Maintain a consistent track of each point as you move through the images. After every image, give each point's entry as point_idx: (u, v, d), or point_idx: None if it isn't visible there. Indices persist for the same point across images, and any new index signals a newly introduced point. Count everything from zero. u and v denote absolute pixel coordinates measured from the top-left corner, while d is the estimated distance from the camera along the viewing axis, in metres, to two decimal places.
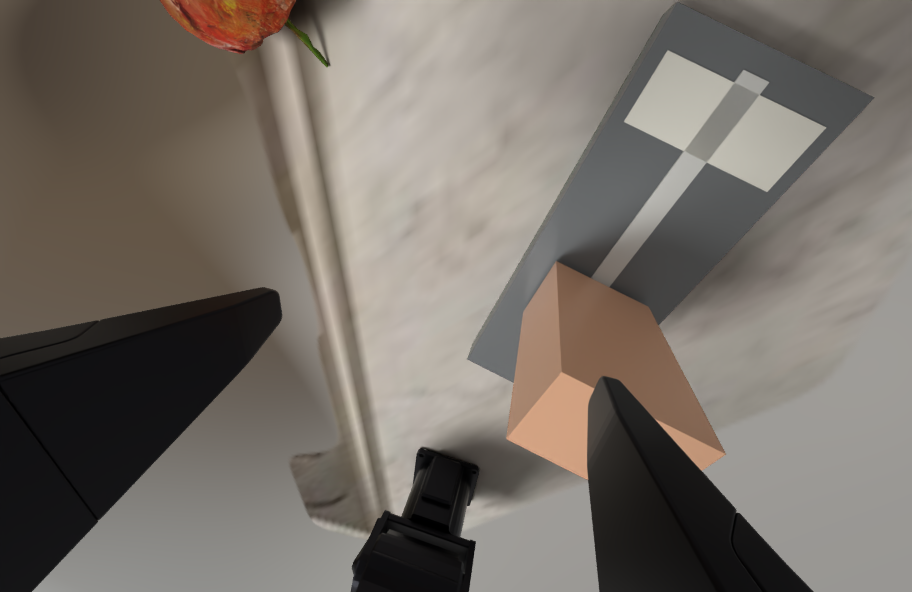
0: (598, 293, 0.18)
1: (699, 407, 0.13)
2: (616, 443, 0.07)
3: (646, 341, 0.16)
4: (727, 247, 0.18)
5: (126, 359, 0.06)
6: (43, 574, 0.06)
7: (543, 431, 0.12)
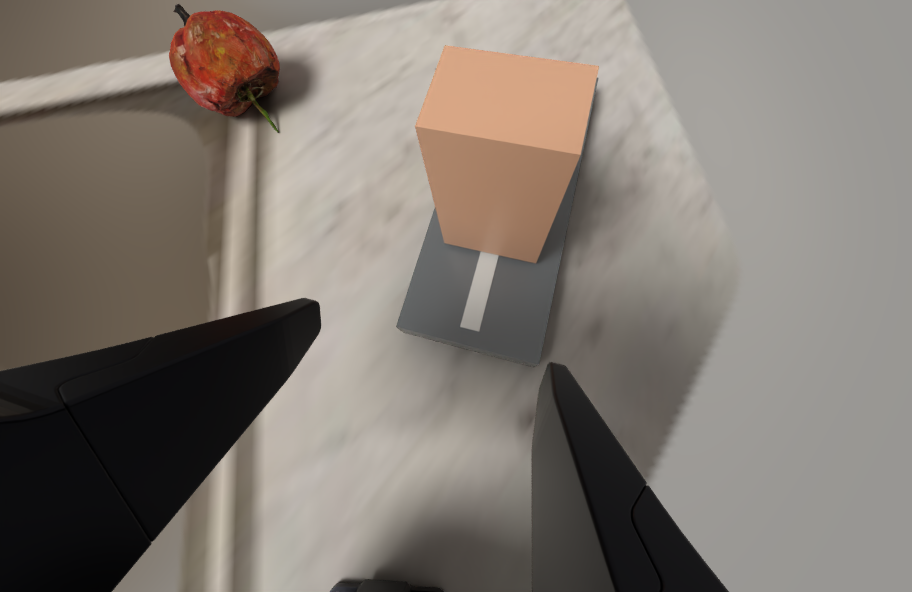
0: None
1: None
2: (551, 424, 0.07)
3: None
4: None
5: (183, 376, 0.06)
6: None
7: (447, 103, 0.13)
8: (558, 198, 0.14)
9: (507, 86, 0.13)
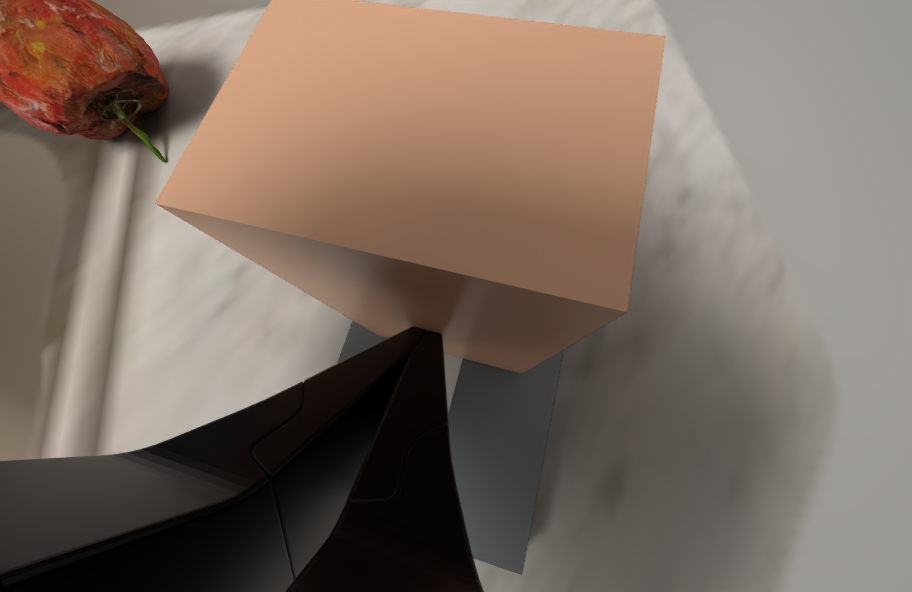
0: None
1: None
2: None
3: None
4: None
5: (339, 426, 0.06)
6: None
7: (254, 137, 0.05)
8: (556, 345, 0.06)
9: (416, 89, 0.05)
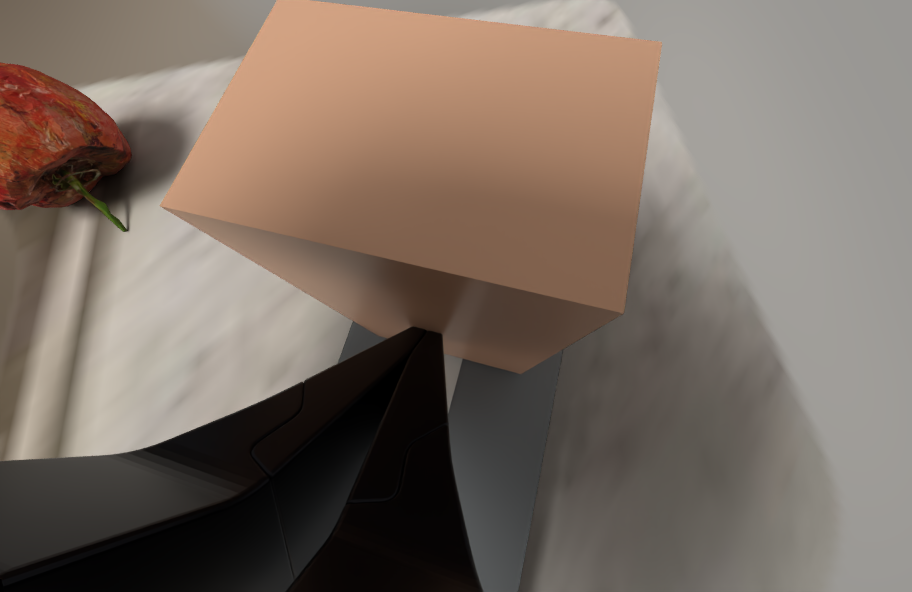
0: None
1: None
2: None
3: None
4: None
5: (339, 426, 0.06)
6: None
7: (258, 141, 0.05)
8: (555, 346, 0.06)
9: (416, 94, 0.05)
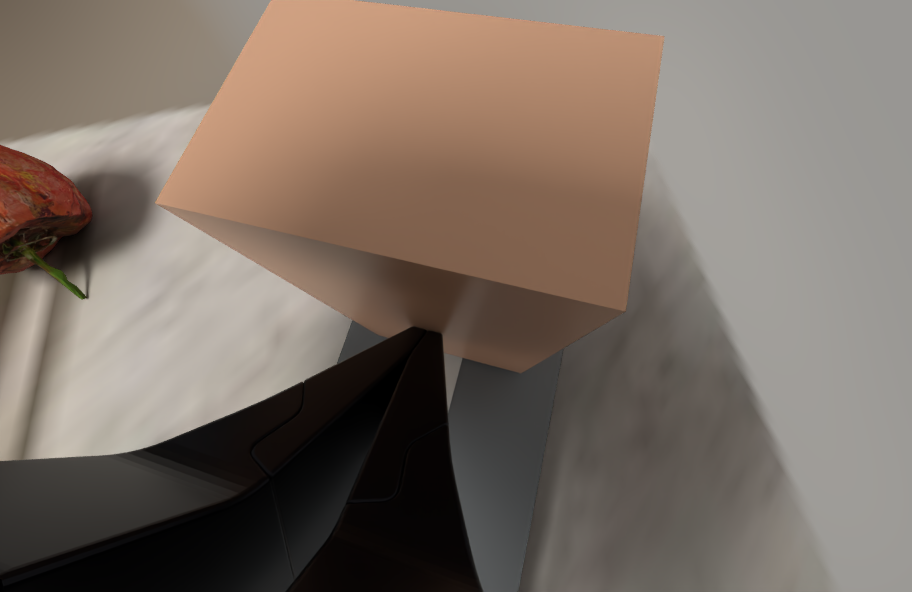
0: None
1: None
2: None
3: None
4: (547, 409, 0.13)
5: (339, 426, 0.06)
6: None
7: (254, 137, 0.05)
8: (556, 345, 0.06)
9: (415, 89, 0.05)
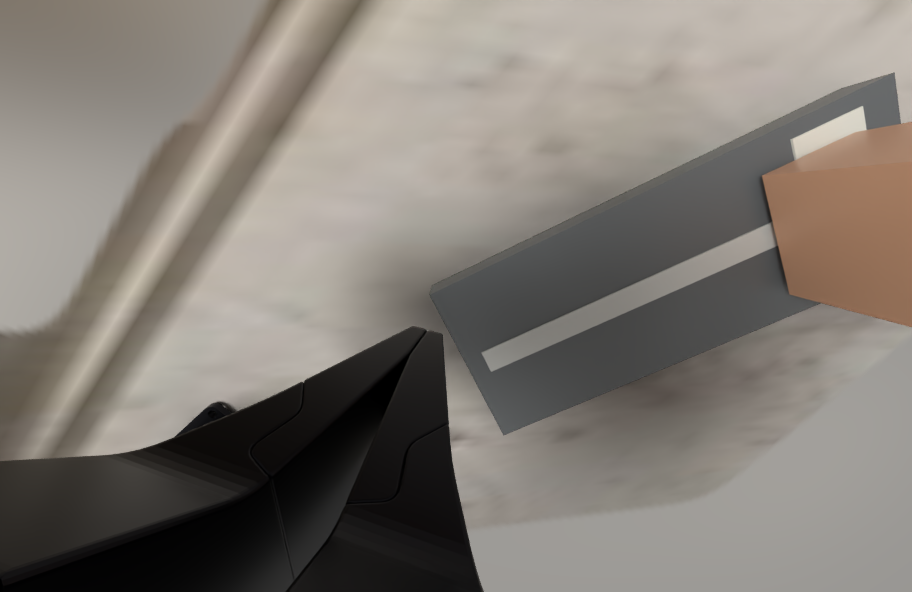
0: None
1: None
2: None
3: None
4: (764, 323, 0.17)
5: (339, 426, 0.06)
6: None
7: None
8: None
9: None
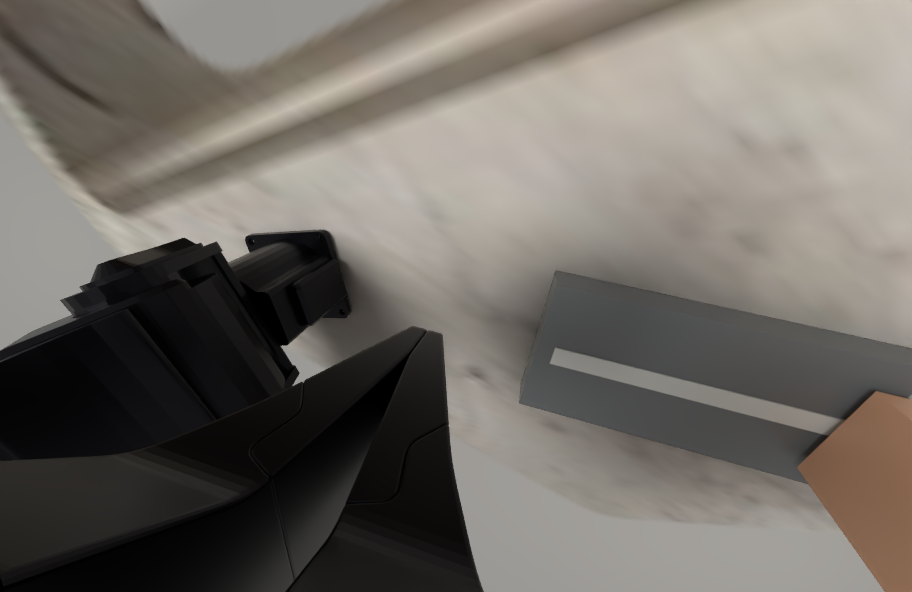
0: None
1: None
2: None
3: None
4: (758, 467, 0.20)
5: (340, 426, 0.06)
6: None
7: None
8: None
9: None
